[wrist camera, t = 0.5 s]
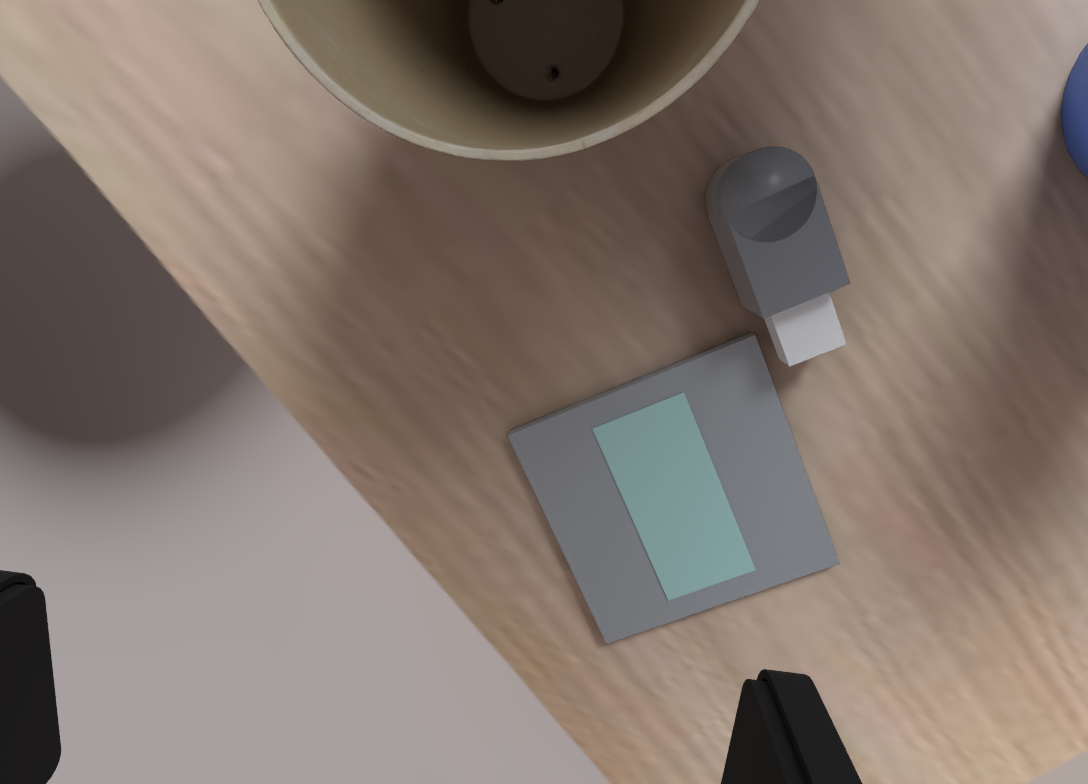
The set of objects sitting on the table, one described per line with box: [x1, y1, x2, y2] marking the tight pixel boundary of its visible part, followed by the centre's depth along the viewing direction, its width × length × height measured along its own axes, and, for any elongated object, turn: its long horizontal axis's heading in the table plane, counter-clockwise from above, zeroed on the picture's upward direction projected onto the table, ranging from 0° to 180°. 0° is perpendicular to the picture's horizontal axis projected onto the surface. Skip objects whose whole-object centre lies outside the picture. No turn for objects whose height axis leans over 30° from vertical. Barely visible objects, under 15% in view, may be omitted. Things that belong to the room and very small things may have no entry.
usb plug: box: [705, 147, 850, 367], centre depth 32 cm, size 10×4×4 cm, turn 24°
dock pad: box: [507, 332, 840, 644], centre depth 37 cm, size 14×14×1 cm
